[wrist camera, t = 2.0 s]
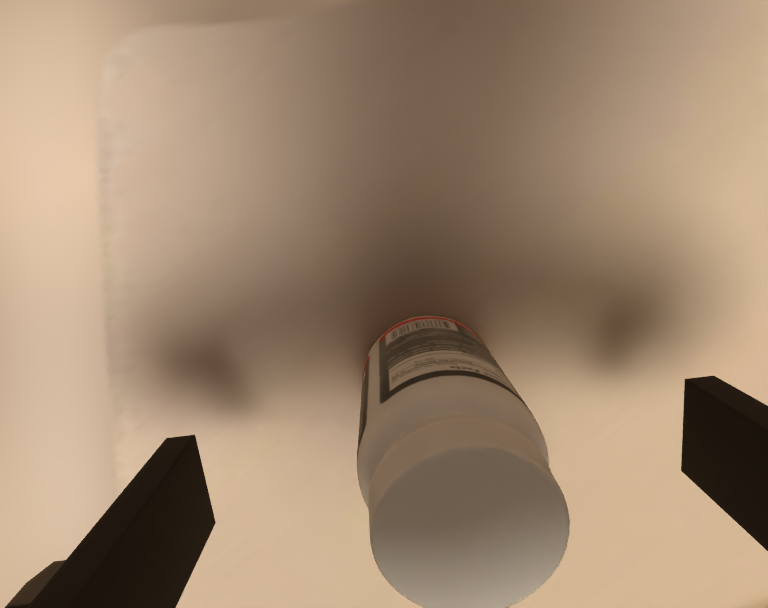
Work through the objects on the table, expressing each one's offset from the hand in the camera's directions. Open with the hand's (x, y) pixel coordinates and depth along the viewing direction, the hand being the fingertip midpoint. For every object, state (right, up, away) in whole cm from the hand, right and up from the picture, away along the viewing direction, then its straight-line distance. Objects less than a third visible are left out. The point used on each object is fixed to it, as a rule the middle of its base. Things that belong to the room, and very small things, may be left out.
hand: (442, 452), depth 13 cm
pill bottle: (0, +1, +5) cm, 5 cm away
